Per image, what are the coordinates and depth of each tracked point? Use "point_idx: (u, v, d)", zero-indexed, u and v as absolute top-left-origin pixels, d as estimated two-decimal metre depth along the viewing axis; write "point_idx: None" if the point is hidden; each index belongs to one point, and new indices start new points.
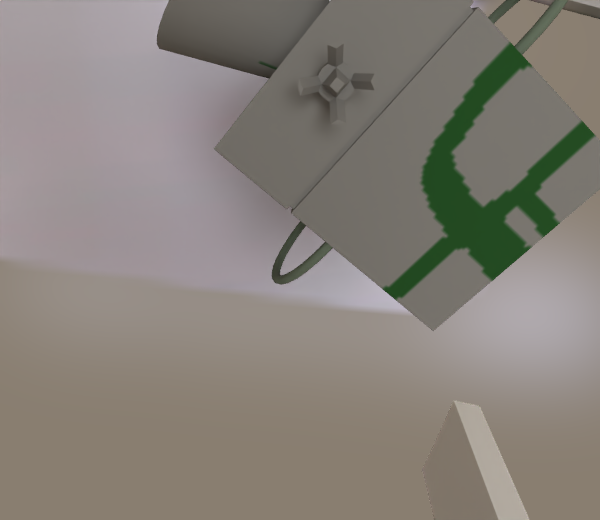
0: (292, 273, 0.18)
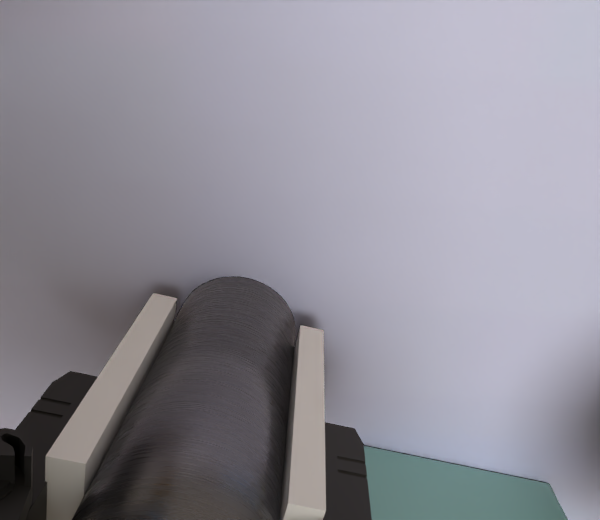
0: None
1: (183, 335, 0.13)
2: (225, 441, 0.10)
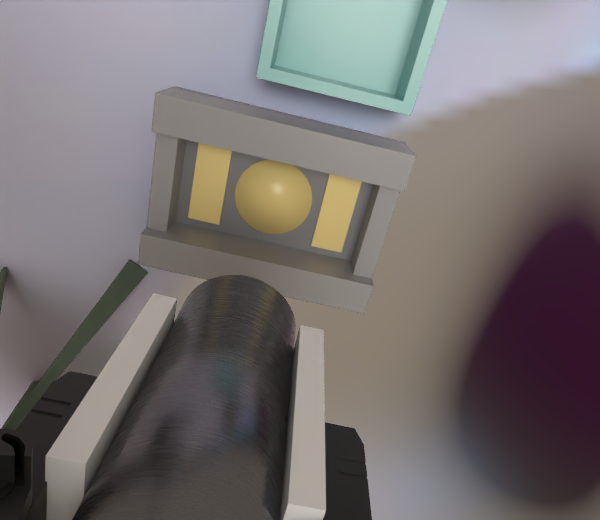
0: None
1: (184, 332, 0.13)
2: (227, 434, 0.10)
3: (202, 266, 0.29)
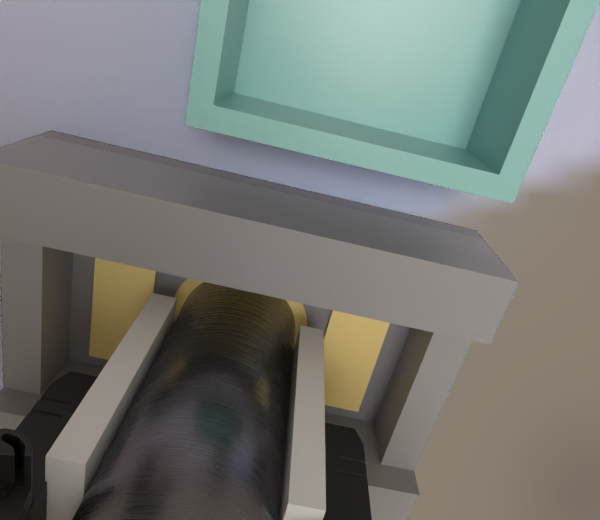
0: None
1: (184, 332, 0.13)
2: (226, 434, 0.10)
3: None
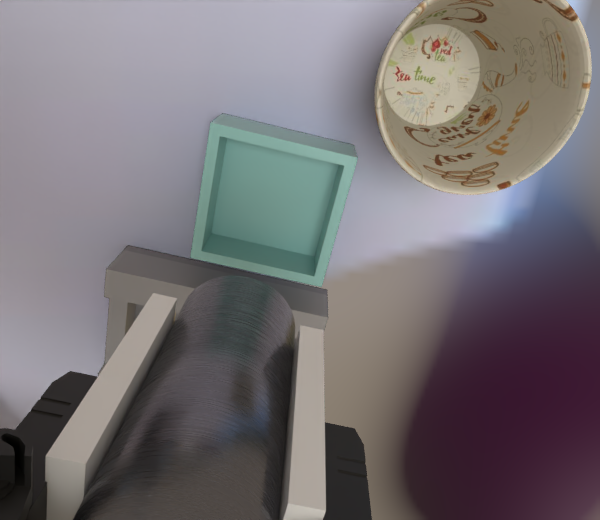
0: None
1: (184, 333, 0.13)
2: (226, 436, 0.10)
3: None
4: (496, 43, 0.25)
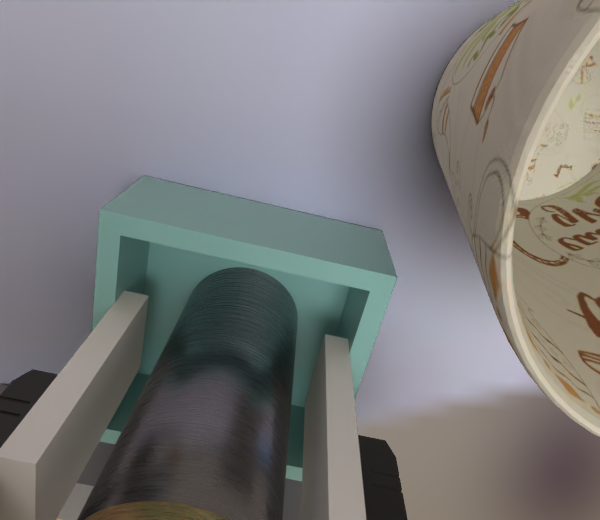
0: None
1: (192, 320, 0.14)
2: (235, 413, 0.11)
3: None
4: None
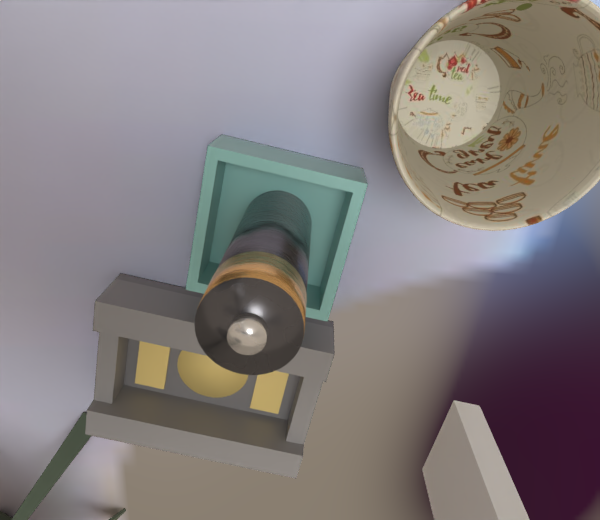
0: None
1: (254, 210, 0.25)
2: (284, 236, 0.22)
3: (144, 437, 0.32)
4: (520, 61, 0.23)
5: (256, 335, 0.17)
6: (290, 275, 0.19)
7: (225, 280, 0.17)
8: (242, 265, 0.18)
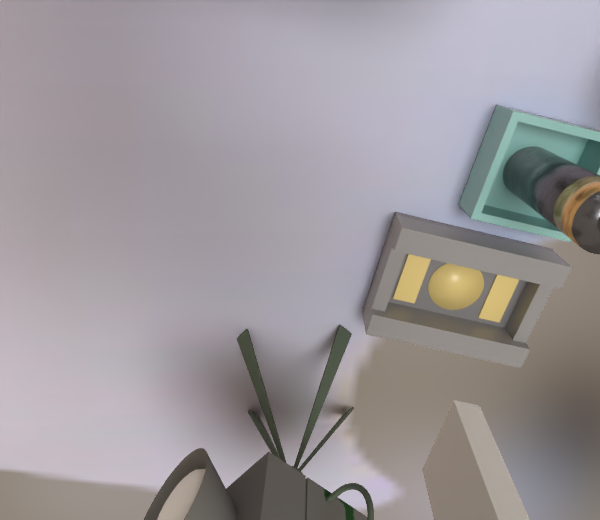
0: None
1: (538, 157, 0.35)
2: None
3: (411, 336, 0.42)
4: None
5: None
6: None
7: None
8: None
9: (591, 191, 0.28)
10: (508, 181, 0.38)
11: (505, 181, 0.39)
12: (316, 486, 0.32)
